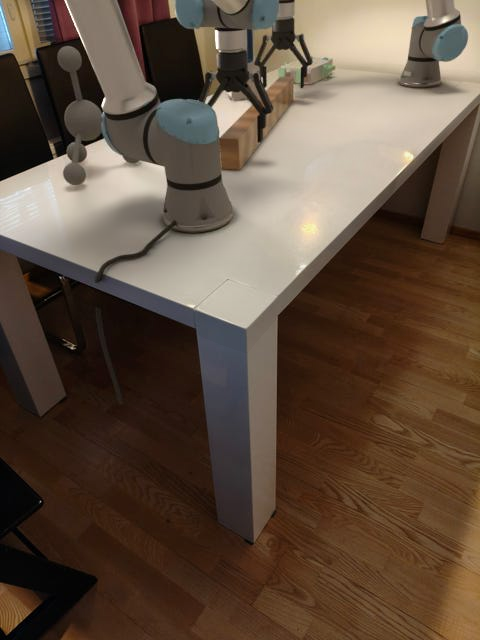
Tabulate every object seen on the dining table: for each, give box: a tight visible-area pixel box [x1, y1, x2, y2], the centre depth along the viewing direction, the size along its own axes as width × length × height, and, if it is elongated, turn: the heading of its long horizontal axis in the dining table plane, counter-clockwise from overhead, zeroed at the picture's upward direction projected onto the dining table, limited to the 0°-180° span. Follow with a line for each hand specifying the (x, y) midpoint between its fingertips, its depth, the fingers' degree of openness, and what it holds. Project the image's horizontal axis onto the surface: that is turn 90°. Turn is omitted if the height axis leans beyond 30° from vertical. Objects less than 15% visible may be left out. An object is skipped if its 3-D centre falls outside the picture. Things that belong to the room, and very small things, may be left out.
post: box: [219, 77, 295, 171], centre depth 153 cm, size 70×5×8 cm, turn 164°
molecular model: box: [57, 45, 141, 186], centre depth 125 cm, size 24×22×30 cm
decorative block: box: [277, 55, 336, 85], centre depth 206 cm, size 26×6×20 cm
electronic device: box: [227, 29, 263, 101], centre depth 179 cm, size 12×8×30 cm, turn 105°
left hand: (235, 139), depth 130 cm, fingers open, 13 cm apart
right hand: (283, 87), depth 174 cm, fingers open, 13 cm apart
